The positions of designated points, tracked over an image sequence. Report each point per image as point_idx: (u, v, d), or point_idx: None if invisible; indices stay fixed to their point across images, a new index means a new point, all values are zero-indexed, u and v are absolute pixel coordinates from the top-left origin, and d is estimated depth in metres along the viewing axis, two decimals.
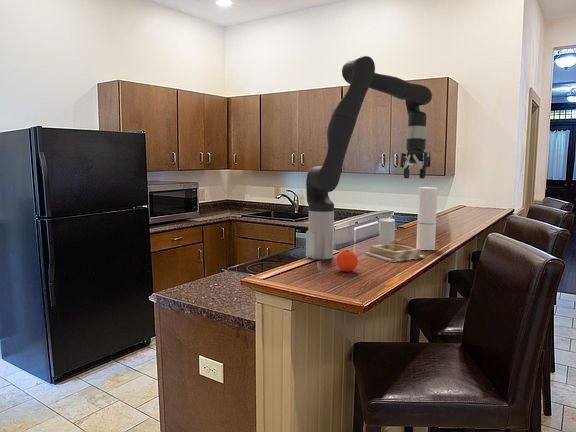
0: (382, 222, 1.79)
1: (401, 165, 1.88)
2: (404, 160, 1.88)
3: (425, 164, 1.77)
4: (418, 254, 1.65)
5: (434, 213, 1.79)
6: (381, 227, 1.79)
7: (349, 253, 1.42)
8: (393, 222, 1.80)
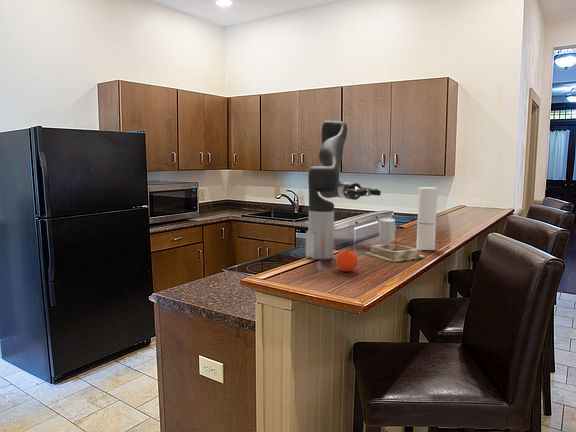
0: (382, 222, 1.79)
1: (351, 190, 1.90)
2: None
3: None
4: (418, 254, 1.65)
5: (434, 213, 1.79)
6: (381, 227, 1.79)
7: (349, 253, 1.42)
8: (393, 222, 1.80)
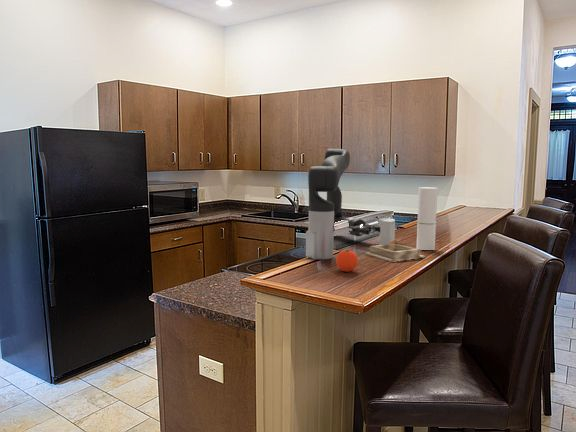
0: (382, 222, 1.79)
1: (356, 228, 1.88)
2: None
3: None
4: (418, 254, 1.65)
5: (434, 213, 1.79)
6: (381, 227, 1.79)
7: (349, 253, 1.42)
8: (393, 222, 1.80)
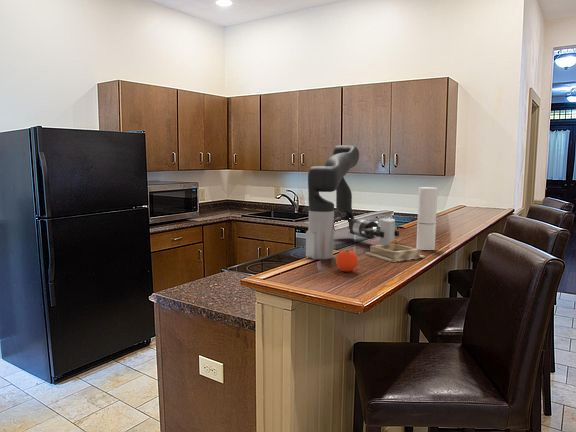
0: (382, 222, 1.79)
1: (370, 230, 1.81)
2: None
3: None
4: (418, 254, 1.65)
5: (434, 213, 1.79)
6: (381, 227, 1.79)
7: (349, 253, 1.42)
8: (393, 222, 1.80)
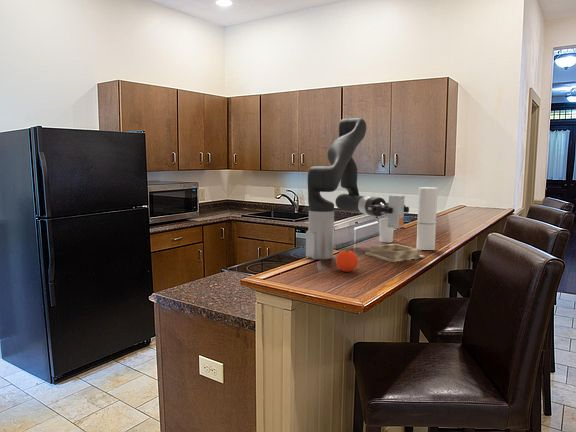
0: (391, 197, 1.65)
1: (378, 206, 1.67)
2: None
3: None
4: (418, 254, 1.65)
5: (434, 213, 1.79)
6: (389, 202, 1.65)
7: (349, 253, 1.42)
8: (402, 197, 1.66)
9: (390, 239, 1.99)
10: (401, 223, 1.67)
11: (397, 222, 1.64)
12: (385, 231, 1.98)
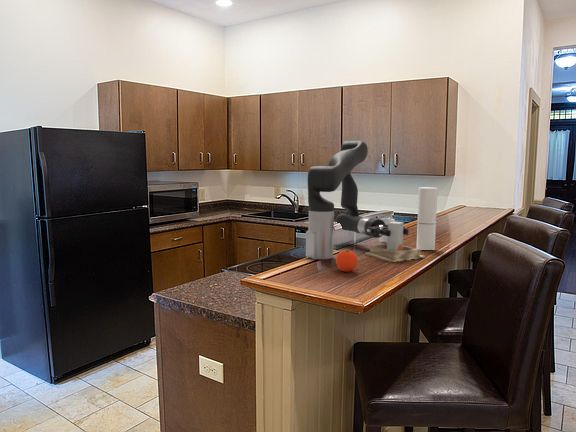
0: (390, 224, 1.66)
1: None
2: None
3: None
4: (418, 254, 1.65)
5: (434, 213, 1.79)
6: None
7: (349, 253, 1.42)
8: (401, 224, 1.67)
9: None
10: (400, 250, 1.68)
11: (396, 249, 1.65)
12: None
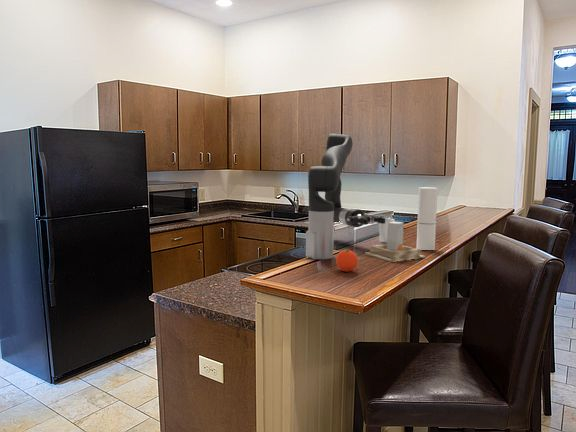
0: (390, 224, 1.66)
1: (354, 217, 1.79)
2: None
3: None
4: (418, 254, 1.65)
5: (434, 213, 1.79)
6: (388, 230, 1.66)
7: (349, 253, 1.42)
8: (401, 224, 1.67)
9: None
10: (400, 250, 1.68)
11: (396, 249, 1.65)
12: (385, 231, 1.98)
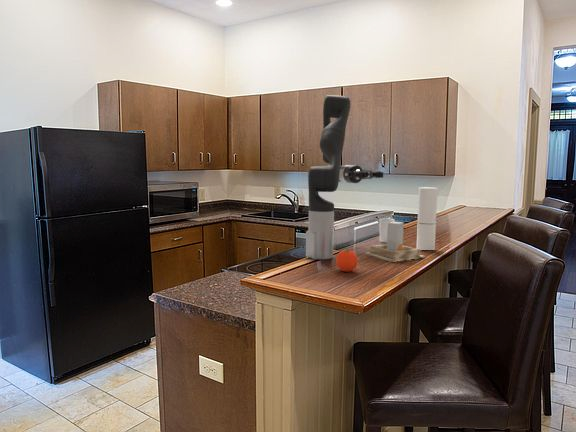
0: (390, 224, 1.66)
1: None
2: None
3: None
4: (418, 254, 1.65)
5: (434, 213, 1.79)
6: (388, 230, 1.66)
7: (349, 253, 1.42)
8: (401, 224, 1.67)
9: None
10: (400, 250, 1.68)
11: (396, 249, 1.65)
12: (385, 231, 1.98)
